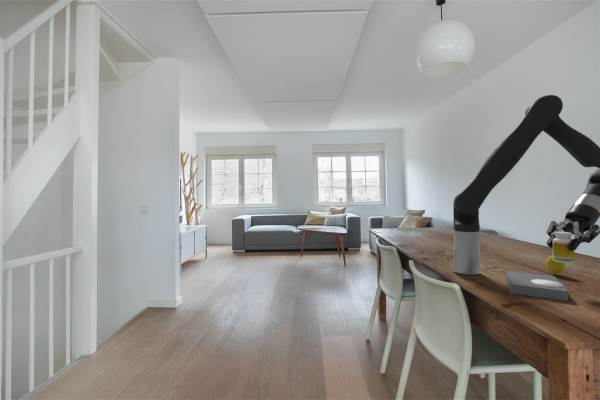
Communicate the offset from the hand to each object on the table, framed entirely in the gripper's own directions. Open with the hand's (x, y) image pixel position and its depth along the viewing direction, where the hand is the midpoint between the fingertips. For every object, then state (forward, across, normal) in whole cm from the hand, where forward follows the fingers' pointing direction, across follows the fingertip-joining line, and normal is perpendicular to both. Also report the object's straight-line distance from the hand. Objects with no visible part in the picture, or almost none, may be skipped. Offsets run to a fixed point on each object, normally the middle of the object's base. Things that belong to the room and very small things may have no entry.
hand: (559, 247), depth 95 cm
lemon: (-3, -14, +24) cm, 28 cm away
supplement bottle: (+2, 0, +5) cm, 5 cm away
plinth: (+14, -4, +6) cm, 16 cm away
